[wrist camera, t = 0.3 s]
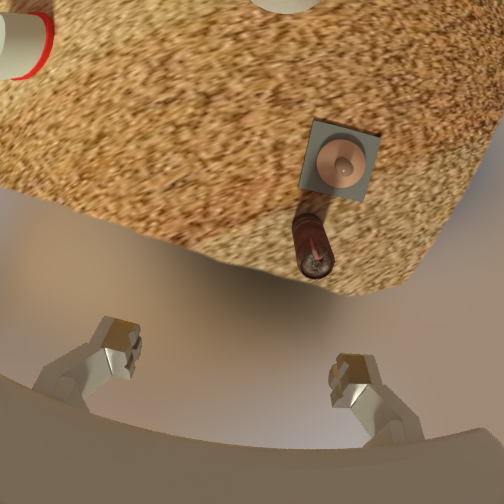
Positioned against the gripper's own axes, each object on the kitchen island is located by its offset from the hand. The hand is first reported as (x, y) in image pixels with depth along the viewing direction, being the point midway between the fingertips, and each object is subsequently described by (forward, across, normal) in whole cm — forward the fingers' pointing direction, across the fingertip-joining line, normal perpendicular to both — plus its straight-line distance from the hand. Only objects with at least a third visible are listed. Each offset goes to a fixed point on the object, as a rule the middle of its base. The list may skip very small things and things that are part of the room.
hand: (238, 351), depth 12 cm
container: (+46, +53, -19) cm, 73 cm away
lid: (+46, -15, +1) cm, 48 cm away
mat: (+46, -15, +1) cm, 49 cm away
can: (+46, -12, +15) cm, 50 cm away
